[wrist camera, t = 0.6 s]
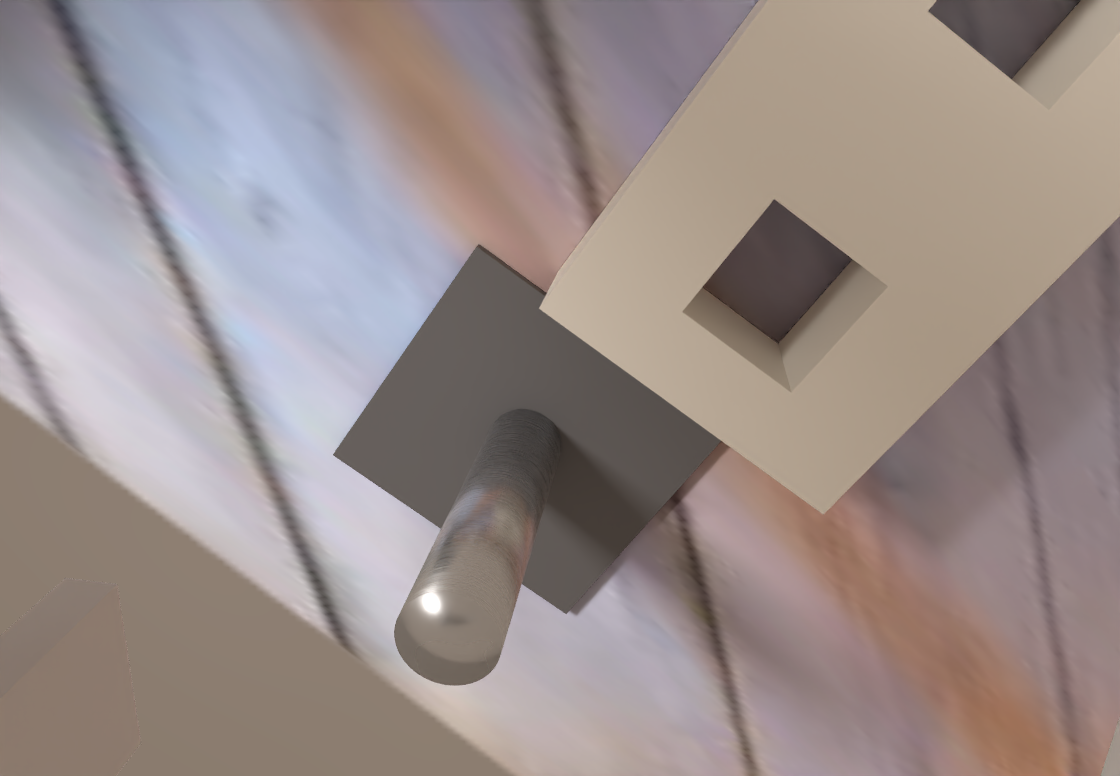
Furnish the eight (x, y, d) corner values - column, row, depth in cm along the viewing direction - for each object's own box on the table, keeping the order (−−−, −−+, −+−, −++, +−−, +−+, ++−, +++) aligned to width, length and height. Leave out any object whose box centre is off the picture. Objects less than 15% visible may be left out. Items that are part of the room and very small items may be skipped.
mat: (336, 450, 40) (332, 454, 39) (478, 244, 36) (476, 246, 35) (567, 608, 41) (566, 614, 41) (729, 427, 37) (730, 430, 37)
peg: (473, 448, 38) (374, 644, 26) (515, 394, 37) (431, 573, 25) (534, 490, 39) (463, 703, 27) (576, 438, 37) (522, 635, 25)
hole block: (558, 270, 35) (538, 308, 31) (967, -283, 28) (1022, -343, 23) (806, 452, 37) (823, 514, 32) (1261, -27, 29) (1369, -36, 25)
